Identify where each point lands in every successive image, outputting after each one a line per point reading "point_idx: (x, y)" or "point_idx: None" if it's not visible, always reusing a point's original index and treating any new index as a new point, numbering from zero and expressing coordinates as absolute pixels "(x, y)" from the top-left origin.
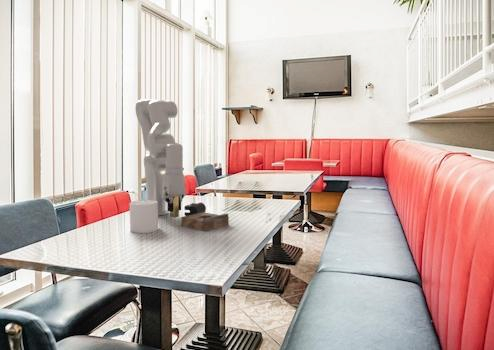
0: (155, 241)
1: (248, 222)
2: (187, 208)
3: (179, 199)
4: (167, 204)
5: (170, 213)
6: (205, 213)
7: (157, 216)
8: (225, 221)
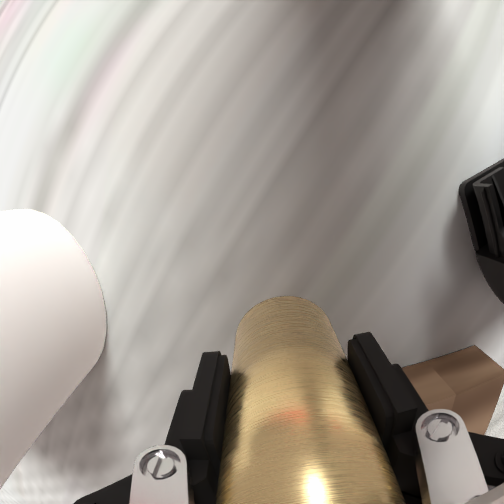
0: (52, 473)
1: None
2: None
3: (407, 489)
4: (166, 438)
5: (233, 357)
6: (480, 413)
7: (50, 420)
8: None
